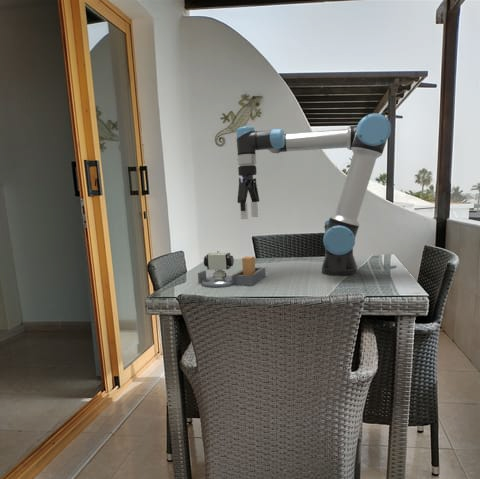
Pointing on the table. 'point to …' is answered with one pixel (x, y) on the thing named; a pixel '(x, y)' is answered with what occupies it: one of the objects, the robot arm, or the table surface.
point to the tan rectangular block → (248, 265)
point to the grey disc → (215, 283)
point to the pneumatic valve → (218, 263)
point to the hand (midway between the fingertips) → (249, 218)
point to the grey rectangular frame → (249, 277)
